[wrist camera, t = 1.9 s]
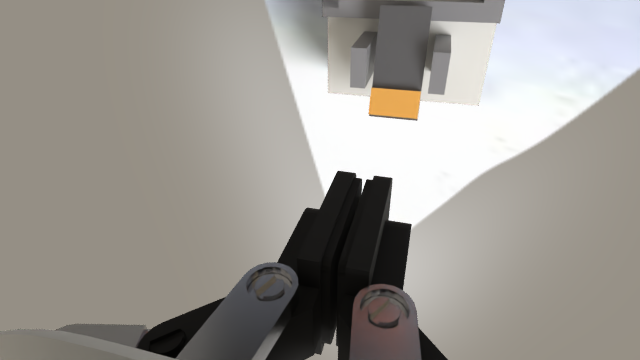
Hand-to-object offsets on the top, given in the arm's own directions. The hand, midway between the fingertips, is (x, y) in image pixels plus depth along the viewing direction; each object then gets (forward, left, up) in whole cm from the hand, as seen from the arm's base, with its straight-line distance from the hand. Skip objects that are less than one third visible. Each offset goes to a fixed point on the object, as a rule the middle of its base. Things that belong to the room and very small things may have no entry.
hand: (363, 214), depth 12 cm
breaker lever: (-2, 0, -9) cm, 9 cm away
